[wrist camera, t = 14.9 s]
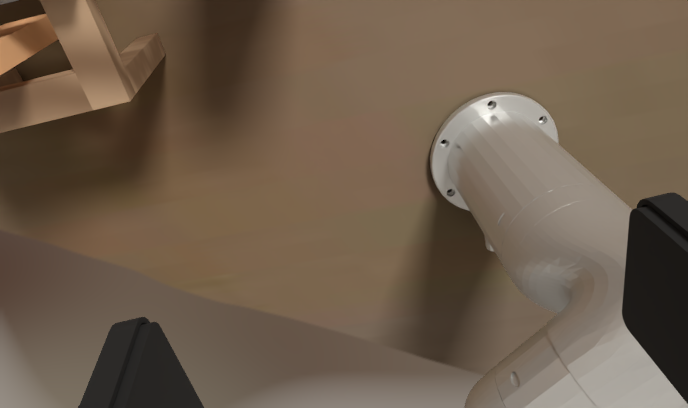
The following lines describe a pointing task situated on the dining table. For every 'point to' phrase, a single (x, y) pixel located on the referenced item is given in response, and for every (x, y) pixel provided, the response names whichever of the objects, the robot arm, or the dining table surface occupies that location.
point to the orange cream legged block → (24, 40)
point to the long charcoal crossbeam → (6, 1)
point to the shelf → (78, 69)
